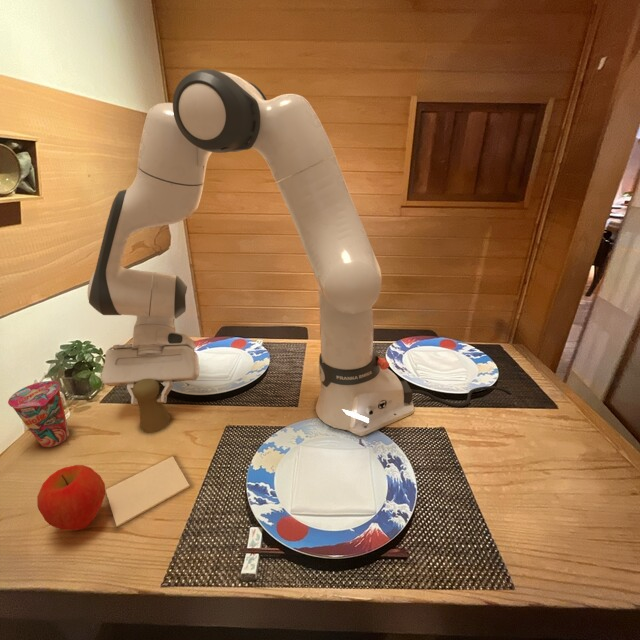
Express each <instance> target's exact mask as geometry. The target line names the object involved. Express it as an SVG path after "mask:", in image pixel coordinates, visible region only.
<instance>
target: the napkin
mask: <svg viewBox="0 0 640 640" xmlns="http://www.w3.org/2000/svg"><path fill="white" fill-rule="evenodd" d="M190 487H191V486H190V483H188V480H187V478H186V477H185V475H184V473H183V471H182V470H181V468H180V466H179V464H178V462H177V461H176V459H175V457H174V456H170V457H168V458H166V459H164V460H162V461H160V462H158V463H156V464H154V465H152V466H150V467H148V468H146V469H144V470H142V471H140V472H138V473H136V474H133V475H132V476H129V477H128V478H126V479H124V480H122V481H120V482H117V483H116V484H114V485H112V486H110V487H108V488H105V494H106V496H107V500H108V504H109V506H110V510H111V514H112V516H113V520H114V523H115V526H116V528H119V527H121V526H123V525H124V524H126V523H128V522H129V521H131V520H133V519H135V518H137V517H138V516H140V515H142V514H144V513H145V512H147V511H150V510H151V509H153V508H154V507H156V506H158V505H160V504H162V503H164V502H165V501H167V500H170V499H171V498H172V497H174V496H176V495H178V494H180V493H182V492H184V491H185V490H187V489H189V488H190Z"/></svg>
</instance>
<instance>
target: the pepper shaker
mask: <svg viewBox="0 0 640 640" xmlns="http://www.w3.org/2000/svg"><path fill="white" fill-rule="evenodd" d="M132 392H133V395H134V397H135V398H136V399H138V405H137V406H138V413H139V421H140V429H141V430H142V431H143V432H144V433H148V434H150V433H151V434H152V433H157V432H160V431H162V430H164V429H165V428H166V427H167V426H169V424H170V423H171V417H170V415H169V412H168V411H167V409H166V406H165V403H157V399H158V398H157V394H160V393H159V392H160V383H158V382H157V381H156V380H154V379H143V380H140V381H138V382H137V383H136V384H135V385H134V386H133V389H132Z"/></svg>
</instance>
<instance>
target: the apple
mask: <svg viewBox="0 0 640 640" xmlns="http://www.w3.org/2000/svg"><path fill="white" fill-rule="evenodd" d="M39 489H40V490H39V492H38V493H37V497H36V499H37V500H36V501H37V502H36V503H37V505H36V506H37V510H38V511H39V513H40V514H41V516H42V518H43V519H44V521H45V522H46V523H47V524H48V525H50V526H52V527H54V528H56V529H58V530H64V531H81V530H83V529H84V530H85V528H87V527H89V526H90V525H91V524H92V523H93V522H94V521H95V518H96V516H97V514H98V513H99V511H100V509H101V507H102V504H103V502H104V499H105V496H106V483H105V481H104V479H103V478H102V477H101V475H100V474H99V473H98V472H96V471H95V470H94V469H93V468H92V467H89V466H87V465H84V464H74V465H70V466H65V467H63V468H59V469H58V470H56V471H55V472H53V473H52V474H51V475H49V476H48V477H47V478H46V480H45V481H44V482H43V483H42V485H41V487H40V488H39Z"/></svg>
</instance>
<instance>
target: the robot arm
mask: <svg viewBox="0 0 640 640" xmlns="http://www.w3.org/2000/svg"><path fill="white" fill-rule="evenodd" d="M172 97H173V98H172V102H160V103H157V104H155V105H153V106H152V107H150V109H149V110H148V111H147V114H146V117H145V121H144V124H143V128H142V133H141V138H140V143H139V150H138V158H137V170H136V174H135V178H134V180H133V182H132V183H131V185H130V186H129V187H128V188H127V189H123V190H119V191H118V192H117V194H116V195H115V197H114V199H113V201H112V204H111V207H110V211H109V214H108V218H107V220H106V224H105V229H104V233H103V236H102V240H101V246H100V250H99V254H98V259H97V262H96V266H95V269H94V270H93V273H92V274H91V277H90V279H89V282H88V285H87V286H88V287H87V299H88V304H89V305H90V306H91V307H92V308H93V309H94V310H95V311H97V312H98V313H99V314H101V315H102V316H133V317H136V321H135V323H134V326H133V333H132V343H125V344H113V346H112V347H111V346H110V347H109V348H108V349H107V350H106V352H105V357H104V364H103V367H102V372H101V376H100V381H101V382H102V384H103V385H105V386H108V387H124V386H125V387H126V390H127V391H128V393H129V395H130V397H131V398H130V405H131V406H139V405H138V399H136V398H135V397H134V395H133V392H132V389H133V386H134V385H135V384H136V383H137V382H138V381H140V380H143V379H154V380H156V381H157V382H158V384H162V386H163V387H164V388H163V389H162V391H161V393H158V394H157V398H158V399H157V403H163V404H166V403H167V400H168V399H167V398H168V395H169V393H170V392H171V390H172V389H173V387H174V383H178V382H179V383H180V382H181V383H182V382H193V381H196V380H197V379H198V378H199V377H200V361H199V355H198V353H197V352H196V351H195V350H196V347H197V346H196V342H195V341H194V340H193V339H192V338H191V337H190V336H189V335H186V334H184V333H179V332H176V331H177V329H176V326H175V320H176V319H178V318H179V317H180V316H182V315H183V314H184V313H185V312H186V310H187V306H186V305H187V304H186V294H187V289H188V286H187V285H186V283H185V282H184V281H183V279H182V278H180V276H178V275H174V274H171V273H166V272H165V273H164V272H159V271H158V272H157V271H147V270H139V269H131V268H126V267H124V266H122V265H121V264H122V261H123V257H124V253H125V249H126V246H127V243H128V240H129V238H130V237H131V235H132V234H134V233H136V232H138V231H141V230H145V229H149V228H154V227H162V226H169V225H173V224H176V223H180V222H183V221H185V220H186V219H188V218H189V217H191V216H192V215H193V214H194V213H195V212H196V211H197V210H198V208H199V206H200V205H199V204H200V202H201V198H202V194H203V189H204V185H205V184H204V183H205V177H206V171H207V164H208V161H209V158H210V156H211V155H212V154H213V153H215V154H225V153H237V152H238V153H239V152H242V151H247V150H250V149H252V150H254V151H256V152H258V153H259V154H260V155H261V156H262V157H263V159H264V160H265V162H266V164H267V166H268V168H269V170H270V172H271V176H272V177H273V179H274V182H275V184H276V186H277V188H278V191H279V193H280V195H281V197H282V200H283V201H284V204H285V206H286V209H287V210H288V212H289V214H290V217H291V219H292V222H293V224H294V226H295V228H296V231H297V233H298V236H299V239H300V242H301V244H302V247H303V250H304V252H305V255H306V257H307V260H308V262H309V264H310V267H311V269H312V271H313V275H314V276H315V280H316V282H317V284H318V308H319V309H318V311H319V333H320V354H319V355H318V356H319V357H318V361H319V362H318V375H319V376H318V377H319V379H320V386H319V394H318V397H317V401H316V404H315V412H316V413H315V414H316V415H317V417H318V418H319V420H320V421H321V422H323V423H324V424H326V425H327V426H330V427H331V428H335V429H338V430H344V431H348V432H350V433H352V434H354V435H356V436H360V437H363V436H366V435H369V434H371V433H374V432H376V431H378V430H380V429H382V428H384V427H386V426H388V425H390V424H393V423H395V422H397V421H399V420H403V419H404V418H406V417H409V416H411V415H413V414H414V412H415V404H414V402H413V401H414V400H413V394H419V395H425V396H427V397H428V398H430V399H431V400H434V401H436V402H439V403H442V404H444V405H447V406H451V407H457V408H461V407H465V406H468V405H469V404H470V402H471V398H472V395H473V393H476V392H480V391H486V390H487V391H488V390H496V391H500V392H503V393H505V394H507V395H509V396H512V392H511V391H510V390H508V389H507V388H504V387H501V386H497V385H486V386H479V387H475V388H472V389H470V390H469V391H468V393H467V396H466V400H465V401H464V402H451V401H448V400H446V399H442V398H440V397H437V396H435V395H433V394H431V392H427V391H425V390H420V389H413V388H411V387H410V385H409V383H408V381H407V380H400V379H399V378H398V376H397V375H396V374H395V373H394V372H393V371H392V370H390V369H389V367H390V362H389V361H388V360H386V358H385V357H381V355H380V354H379V352H378V351H376V350H374V330H375V329H374V327H375V320H374V314H373V313H374V311H373V306H374V305H375V303H376V302H377V301H378V300H379V298H380V295H381V291H382V281H383V279H382V277H383V276H382V271H381V266H380V264H379V262H378V259H377V257H376V255H375V253H374V249H373V247H372V245H371V242H370V240H369V237H368V235H367V232H366V229H365V227H364V224H363V222H362V220H361V218H360V215H359V213H358V210H357V208H356V206H355V204H354V201H353V198H352V195H351V193H350V191H349V187H348V185H347V183H346V180H345V177H344V175H343V172H342V169H341V166H340V164H339V161H338V159H337V156H336V154H335V150H334V148H333V146H332V143H331V141H330V139H329V136H328V134H327V132H326V129H325V128H324V126H323V124H322V122H321V120H320V118H319V117H318V115H317V113H316V112H315V110H314V108H313V106H312V105H311V103H310V102H309V101H308V100H307V99H306V98H305V97H304V96H303V95H301V94H296V93H286V94H285V93H284V94H281V95H277V96H275V97H274V98H271V99H267V97H266V95H265V94H264V92H263V91H262V90H261V89H260V88H259V87H258V86H257V85H256V84H254V83H252V82H251V81H249V80H245V79H243V78H242V77H240V76H238V75H236V74H234V73H230V72H226V71H219V70H216V69H211V68H203V69H198V70H195V71H192V72H190V73H188V74H187V75H185V76H184V77H182V78H181V80H180V81H179V82H178V84H177V86H176V88H175V90H174V93H173V96H172Z"/></svg>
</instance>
